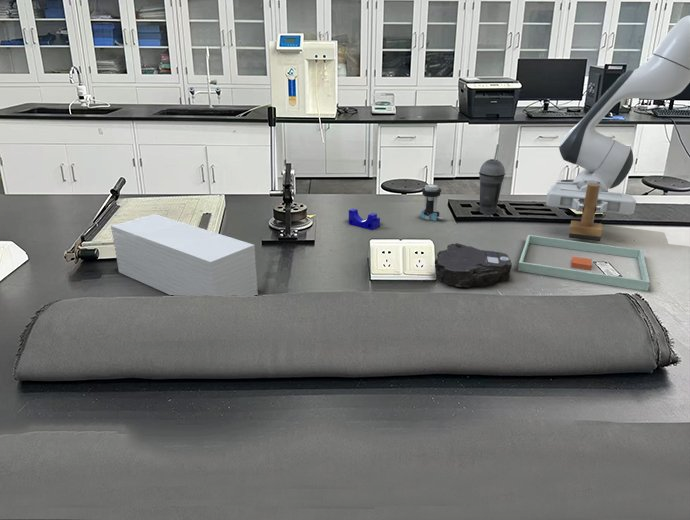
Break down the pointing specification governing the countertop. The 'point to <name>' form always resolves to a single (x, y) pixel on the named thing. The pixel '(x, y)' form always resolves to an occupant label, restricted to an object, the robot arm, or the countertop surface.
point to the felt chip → (581, 263)
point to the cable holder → (369, 223)
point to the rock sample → (471, 266)
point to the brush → (588, 217)
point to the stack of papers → (184, 258)
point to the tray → (584, 275)
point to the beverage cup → (490, 184)
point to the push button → (430, 202)
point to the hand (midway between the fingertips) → (589, 209)
